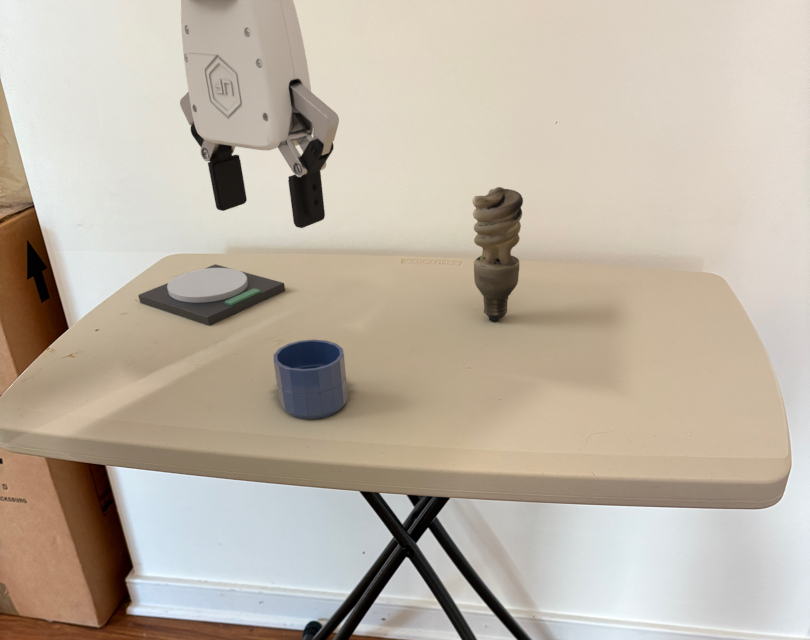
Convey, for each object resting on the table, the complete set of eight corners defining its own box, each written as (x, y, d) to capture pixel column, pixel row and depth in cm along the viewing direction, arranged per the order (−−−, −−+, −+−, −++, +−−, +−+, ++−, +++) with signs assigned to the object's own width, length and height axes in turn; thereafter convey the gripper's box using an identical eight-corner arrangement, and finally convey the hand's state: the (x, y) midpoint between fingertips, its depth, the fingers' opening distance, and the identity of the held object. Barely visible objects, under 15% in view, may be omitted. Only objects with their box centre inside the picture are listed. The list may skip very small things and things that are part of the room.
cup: (317, 428, 73) (311, 377, 70) (267, 409, 77) (258, 359, 73) (361, 400, 77) (357, 350, 74) (312, 382, 81) (306, 334, 77)
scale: (211, 336, 91) (206, 310, 89) (142, 313, 97) (136, 288, 95) (286, 301, 99) (283, 276, 97) (218, 281, 105) (214, 258, 103)
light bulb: (466, 326, 91) (469, 193, 81) (473, 308, 95) (476, 180, 85) (513, 329, 90) (521, 195, 80) (518, 311, 94) (527, 181, 84)
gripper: (120, -24, 58) (173, 211, 68) (280, -26, 49) (312, 243, 60) (196, -31, 62) (234, 191, 73) (356, -34, 54) (372, 218, 64)
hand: (269, 214), depth 66 cm, fingers open, 9 cm apart
